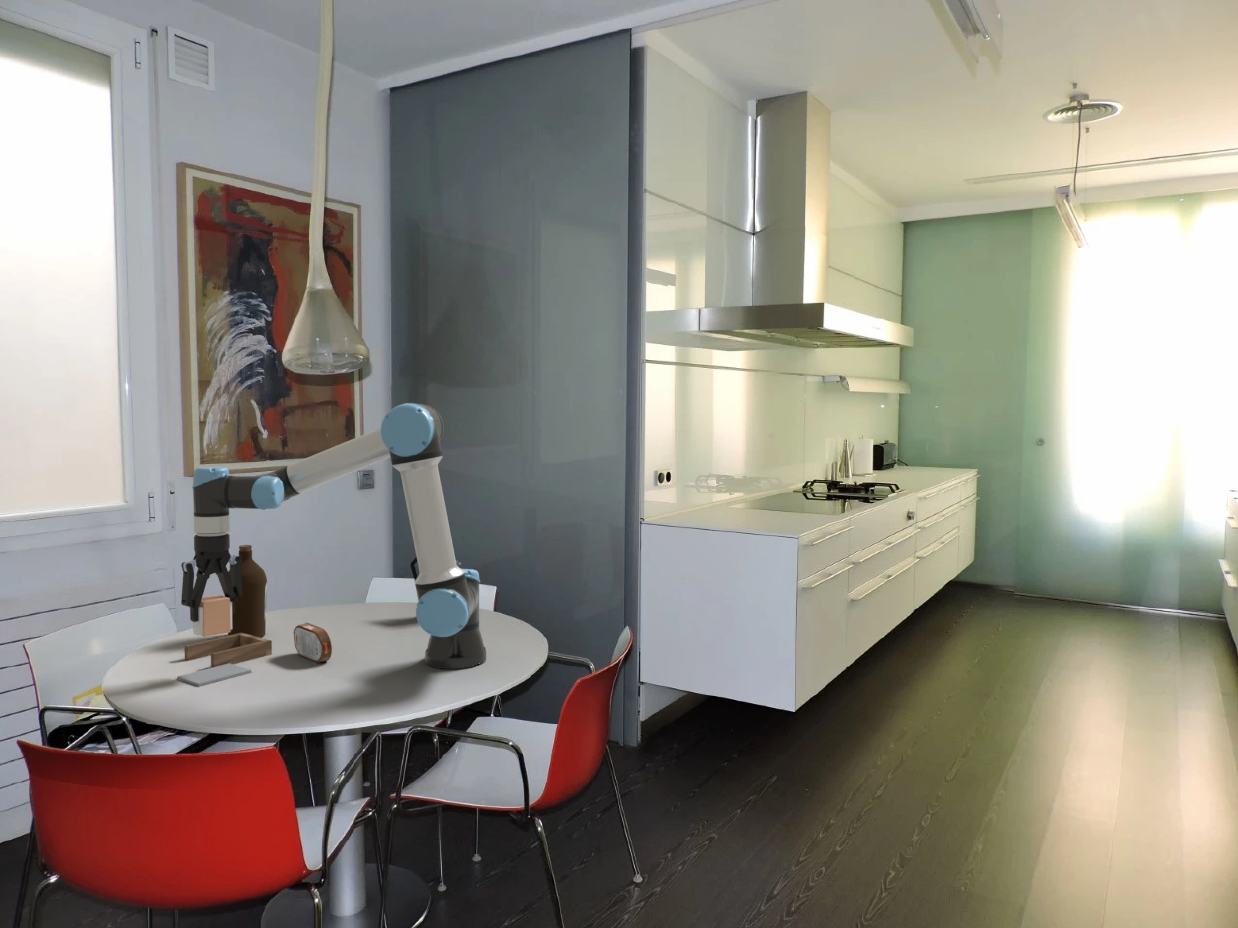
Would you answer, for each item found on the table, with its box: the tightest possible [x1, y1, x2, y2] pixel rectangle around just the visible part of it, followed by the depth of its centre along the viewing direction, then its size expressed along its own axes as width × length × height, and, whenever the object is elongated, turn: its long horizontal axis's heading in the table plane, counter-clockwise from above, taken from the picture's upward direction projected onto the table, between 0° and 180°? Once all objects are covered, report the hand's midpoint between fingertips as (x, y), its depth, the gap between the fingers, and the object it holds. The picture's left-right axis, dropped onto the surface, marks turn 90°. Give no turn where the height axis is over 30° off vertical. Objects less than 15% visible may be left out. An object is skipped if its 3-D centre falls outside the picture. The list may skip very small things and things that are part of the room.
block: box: [192, 594, 231, 638], centre depth 206 cm, size 6×6×8 cm
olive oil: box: [227, 544, 268, 638], centre depth 241 cm, size 11×11×25 cm
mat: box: [176, 663, 252, 687], centre depth 207 cm, size 9×13×1 cm
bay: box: [183, 633, 273, 668], centre depth 222 cm, size 13×16×4 cm
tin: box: [293, 622, 333, 664], centre depth 221 cm, size 15×3×8 cm, turn 47°
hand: (213, 631), depth 206 cm, fingers closed on block, 6 cm apart
